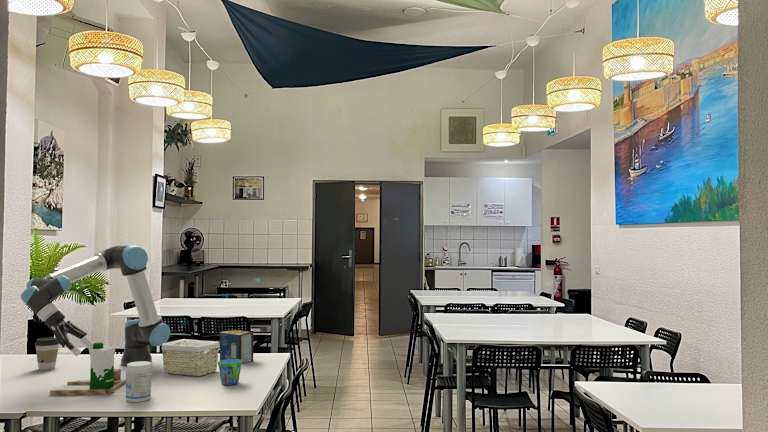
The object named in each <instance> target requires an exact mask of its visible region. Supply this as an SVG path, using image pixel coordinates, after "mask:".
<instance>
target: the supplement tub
mask: <svg viewBox="0 0 768 432" xmlns="http://www.w3.org/2000/svg"><path fill="white" fill-rule="evenodd" d="M152 368H153V367H152V363H151V362H147V361H138V362H131V363H128V364H127V366H126V370H125V371H126V372H125V373H126V376H125V377H126V378H125V381H126V384H125V400H126V402H128V403H129V402H130V403H142V402H147V401H149V400H150V399H151V398H152Z"/></svg>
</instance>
